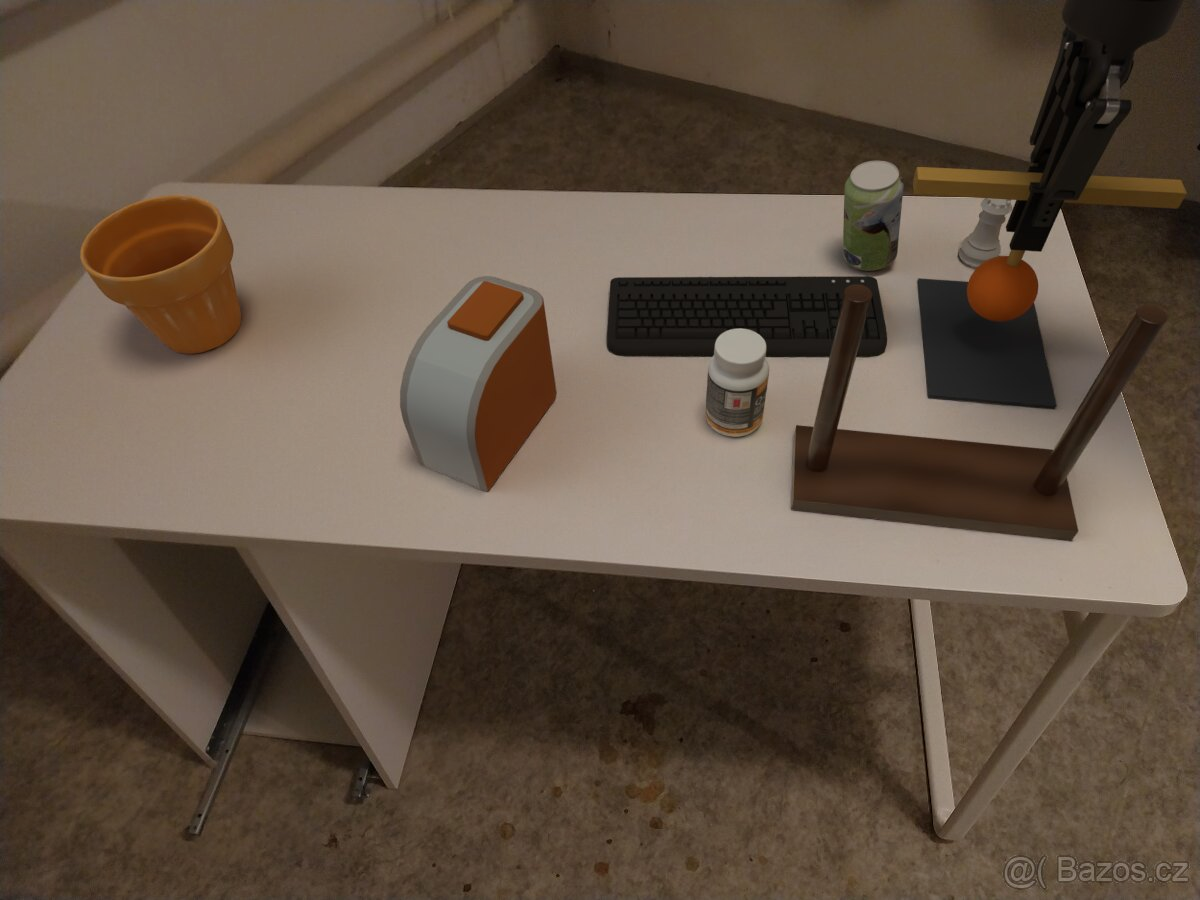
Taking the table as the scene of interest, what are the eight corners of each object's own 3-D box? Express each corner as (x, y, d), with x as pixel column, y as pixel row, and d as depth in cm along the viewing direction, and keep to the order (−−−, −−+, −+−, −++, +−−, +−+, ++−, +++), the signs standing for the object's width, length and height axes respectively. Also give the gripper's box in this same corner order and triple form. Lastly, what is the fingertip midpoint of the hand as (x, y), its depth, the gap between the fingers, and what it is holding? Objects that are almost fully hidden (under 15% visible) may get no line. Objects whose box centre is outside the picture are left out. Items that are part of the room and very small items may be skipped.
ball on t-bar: (1113, 343, 82) (1194, 208, 69) (881, 325, 85) (919, 193, 73) (1101, 300, 85) (1174, 165, 73) (879, 284, 89) (915, 152, 77)
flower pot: (280, 286, 100) (238, 192, 90) (245, 371, 91) (194, 277, 81) (166, 288, 101) (112, 195, 91) (121, 372, 92) (54, 280, 82)
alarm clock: (495, 364, 90) (473, 263, 79) (564, 388, 87) (551, 287, 76) (415, 462, 82) (379, 365, 71) (488, 492, 79) (462, 395, 68)
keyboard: (606, 356, 90) (605, 342, 88) (611, 289, 96) (610, 275, 95) (888, 357, 87) (892, 343, 86) (873, 288, 94) (876, 274, 93)
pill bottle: (766, 437, 81) (777, 366, 74) (707, 440, 82) (712, 369, 74) (758, 395, 85) (768, 322, 77) (702, 397, 85) (706, 325, 77)
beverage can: (904, 268, 96) (931, 176, 87) (849, 286, 95) (870, 194, 85) (874, 237, 100) (896, 146, 90) (820, 254, 98) (837, 163, 89)
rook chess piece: (994, 246, 98) (1017, 186, 91) (1000, 270, 95) (1024, 211, 89) (954, 244, 98) (974, 185, 92) (959, 269, 95) (980, 209, 89)
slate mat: (1055, 409, 82) (1057, 406, 81) (927, 398, 83) (929, 394, 83) (1029, 289, 93) (1030, 285, 92) (917, 281, 94) (918, 278, 94)
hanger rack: (1071, 540, 72) (1200, 361, 55) (791, 510, 76) (830, 332, 59) (1055, 460, 78) (1167, 274, 61) (794, 434, 81) (830, 252, 64)
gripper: (1063, -73, 65) (973, 189, 83) (1100, 15, 56) (990, 289, 74) (1167, -72, 64) (1053, 194, 82) (1223, 18, 54) (1080, 295, 73)
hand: (1023, 238), depth 78 cm, fingers closed on ball on t-bar, 2 cm apart
